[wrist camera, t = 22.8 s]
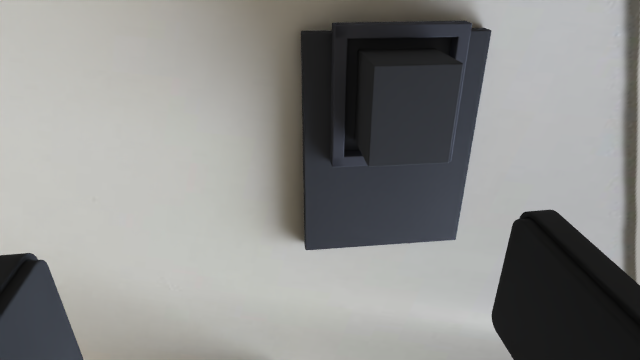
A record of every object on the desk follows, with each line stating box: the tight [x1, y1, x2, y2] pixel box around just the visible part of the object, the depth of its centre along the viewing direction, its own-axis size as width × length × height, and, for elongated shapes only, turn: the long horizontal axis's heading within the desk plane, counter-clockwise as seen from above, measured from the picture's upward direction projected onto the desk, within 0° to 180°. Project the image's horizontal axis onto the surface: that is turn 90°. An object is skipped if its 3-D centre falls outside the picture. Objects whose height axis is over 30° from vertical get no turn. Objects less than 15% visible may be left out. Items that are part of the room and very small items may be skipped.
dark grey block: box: [354, 48, 463, 167], centre depth 27 cm, size 6×5×4 cm
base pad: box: [301, 21, 491, 250], centre depth 31 cm, size 17×12×2 cm
